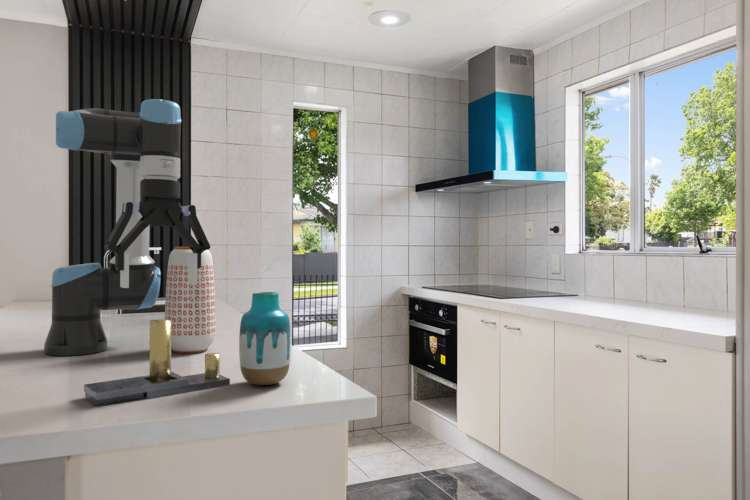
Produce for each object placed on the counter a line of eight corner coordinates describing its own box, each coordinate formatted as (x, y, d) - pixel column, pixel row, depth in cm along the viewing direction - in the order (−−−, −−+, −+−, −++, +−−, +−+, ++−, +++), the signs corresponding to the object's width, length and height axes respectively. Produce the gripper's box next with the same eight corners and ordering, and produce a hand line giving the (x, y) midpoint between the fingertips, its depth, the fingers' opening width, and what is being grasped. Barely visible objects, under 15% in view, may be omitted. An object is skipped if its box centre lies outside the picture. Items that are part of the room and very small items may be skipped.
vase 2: (266, 393, 114) (267, 296, 114) (228, 385, 120) (228, 293, 120) (300, 382, 123) (301, 292, 123) (263, 375, 129) (264, 289, 129)
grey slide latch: (83, 397, 110) (83, 366, 110) (212, 377, 127) (212, 350, 127) (96, 407, 104) (96, 373, 104) (229, 384, 121) (229, 355, 121)
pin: (146, 390, 115) (146, 320, 115) (166, 387, 118) (166, 318, 118) (153, 394, 112) (154, 322, 112) (174, 391, 115) (174, 320, 115)
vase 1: (161, 356, 150) (161, 247, 149) (167, 346, 163) (167, 246, 162) (214, 354, 153) (215, 247, 152) (216, 345, 166) (217, 246, 165)
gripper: (99, 172, 104) (98, 290, 105) (226, 182, 121) (226, 284, 121) (87, 175, 110) (87, 287, 111) (211, 184, 126) (210, 282, 127)
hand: (159, 286), depth 116 cm, fingers open, 13 cm apart
